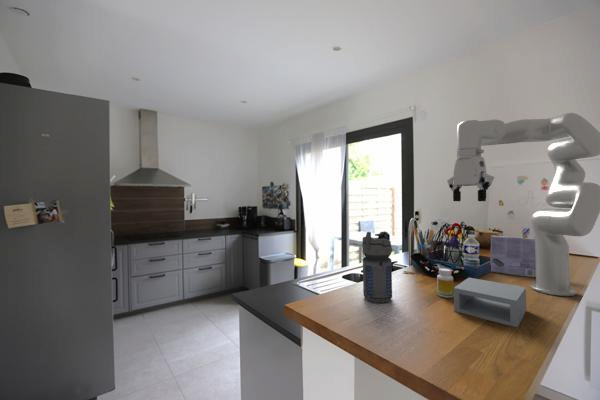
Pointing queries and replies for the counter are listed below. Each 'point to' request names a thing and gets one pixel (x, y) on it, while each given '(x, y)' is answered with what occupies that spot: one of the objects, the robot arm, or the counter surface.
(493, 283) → the shelf unit
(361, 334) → the counter surface
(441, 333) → the counter surface
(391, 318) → the counter surface
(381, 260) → the beverage bottle
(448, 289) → the supplement bottle
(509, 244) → the cake pan box
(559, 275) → the robot arm
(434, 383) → the counter surface
